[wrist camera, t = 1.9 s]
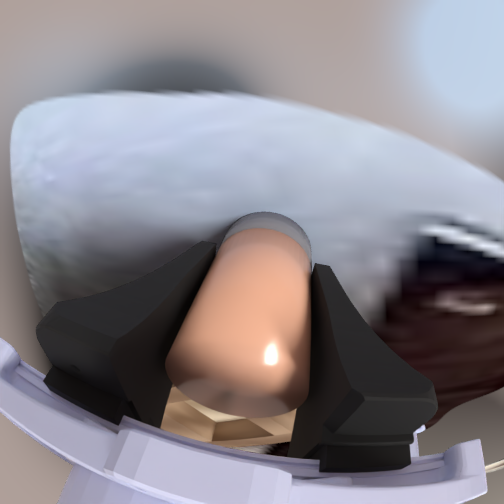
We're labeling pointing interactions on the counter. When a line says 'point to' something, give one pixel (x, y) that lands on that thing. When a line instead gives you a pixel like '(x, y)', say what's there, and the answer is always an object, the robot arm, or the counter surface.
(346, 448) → the robot arm
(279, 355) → the peach rounded capsule
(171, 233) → the counter surface
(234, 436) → the socket holder
